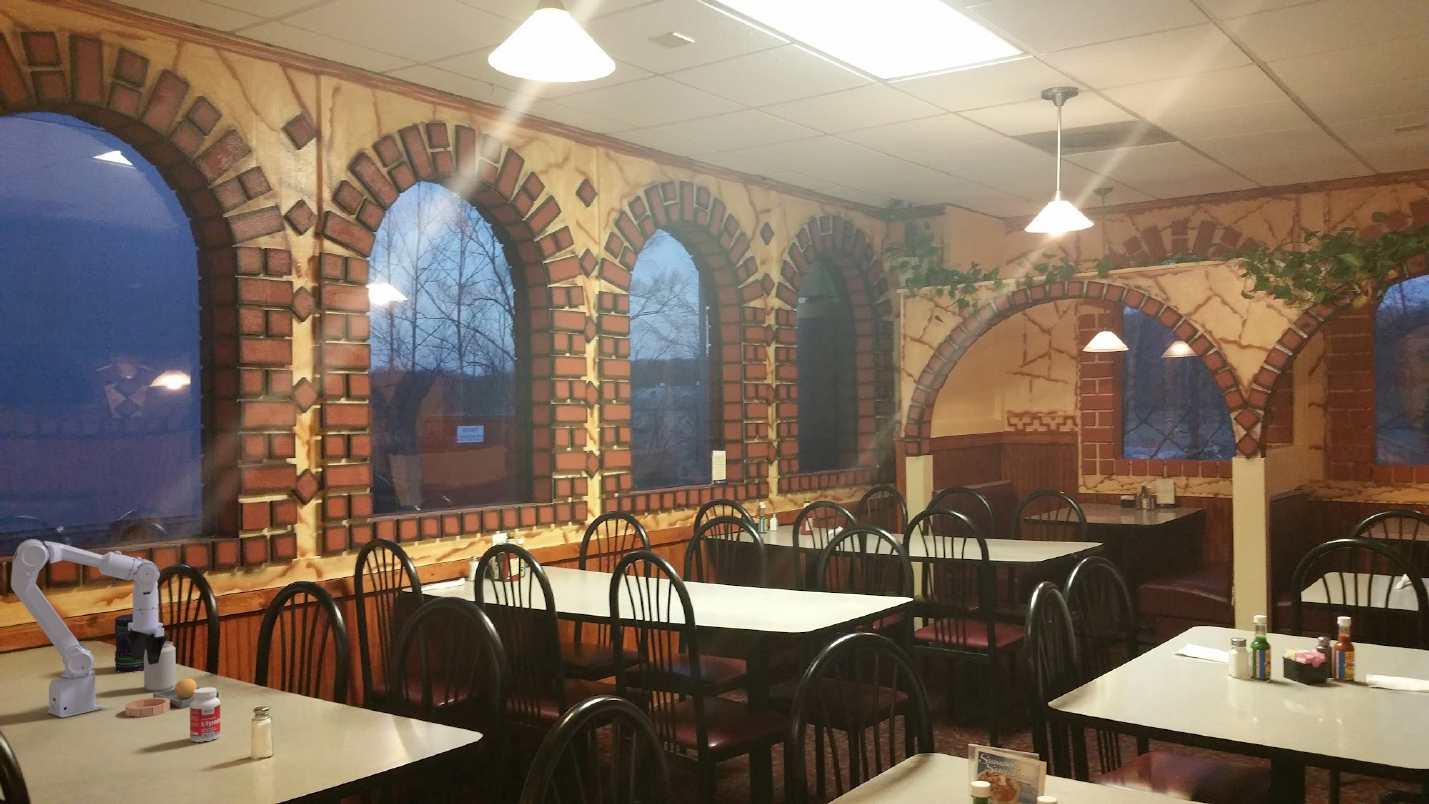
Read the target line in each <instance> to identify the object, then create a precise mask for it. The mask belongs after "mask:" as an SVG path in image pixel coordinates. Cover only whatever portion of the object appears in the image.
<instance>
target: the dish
mask: <svg viewBox="0 0 1429 804" xmlns="http://www.w3.org/2000/svg"><path fill="white" fill-rule="evenodd" d="M124 708H125V710H124V711H125V714H126V715H127V717H129V716H135V717H134V718H144V717H143V716H146V717H153V716H158V715H162V714H164V713H167V712H169V711H170V709H171V706H170V699H167V698H153V697H150V698H148V697H147V698H142V699H138V700H137V699H136V700H133V701H130V702H128V703H126V704H125V706H124ZM157 714H158V715H157ZM126 715H125V716H126Z"/></svg>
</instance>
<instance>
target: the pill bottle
mask: <svg viewBox="0 0 1429 804" xmlns="http://www.w3.org/2000/svg"><path fill="white" fill-rule="evenodd" d="M216 692H217V688H216V687H211V686H210V687H208V686H207V687H201V688H200V689H196V690H194V695H193V696H194V698H195V700H193V701H192V702H191V704H190V707H189V739H190V741H191V742H193V741H195V742H194V743H198V742H202V741H209V742H212V741H211V740H213V739H216V740H217V738H218V737H219V736H220V737H221V700H220V698H219V699H218V698H216V697H215V696H216V695H217V694H216ZM220 737H219V738H220ZM219 738H218V739H219ZM196 741H197V742H196ZM213 741H214V740H213ZM202 743H203V742H202Z"/></svg>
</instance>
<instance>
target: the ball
mask: <svg viewBox="0 0 1429 804" xmlns="http://www.w3.org/2000/svg"><path fill="white" fill-rule="evenodd" d="M174 687H175V688H174V689H175V692H176V694H177V696H178V697H180V698H183V699H187V698H190V697H192V696H193V695H194V690H196V689H197V687H198V685H197V682H195V680H194V679H192V678H188V677H187V678H182V679H180V680H179V681H178V682H176V684H175V686H174Z"/></svg>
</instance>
